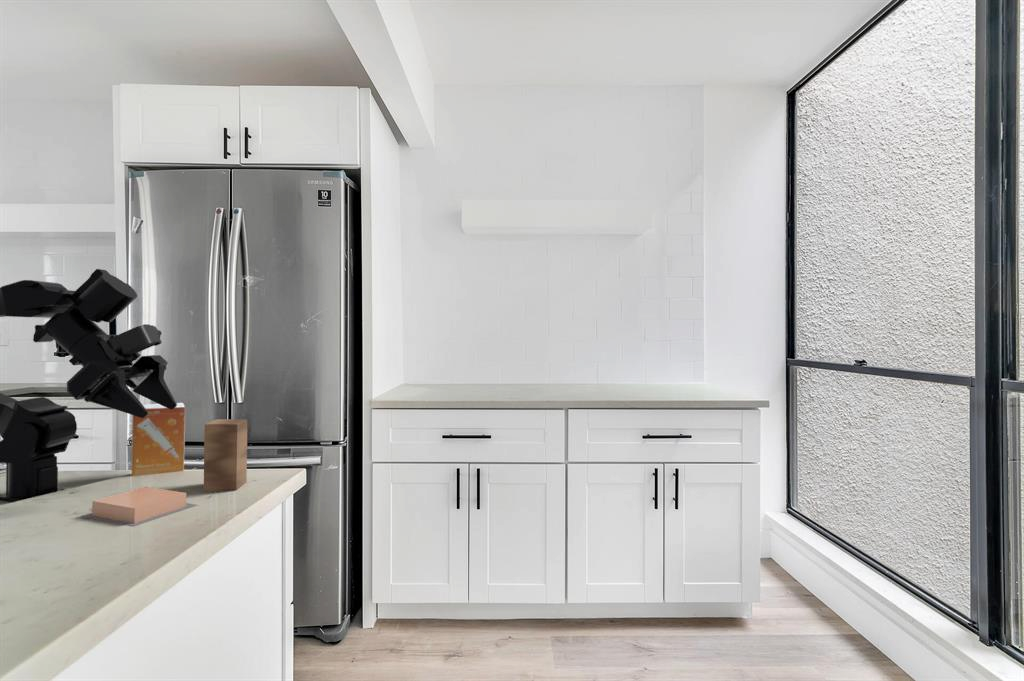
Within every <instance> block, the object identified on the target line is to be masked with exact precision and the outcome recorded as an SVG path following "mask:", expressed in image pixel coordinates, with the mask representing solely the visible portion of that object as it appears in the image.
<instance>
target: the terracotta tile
mask: <svg viewBox="0 0 1024 681" xmlns="http://www.w3.org/2000/svg"><path fill="white" fill-rule="evenodd" d="M91 503H92V504H91V509H92V510H91V513H92V515H93V516H98V517H103V518H109V519H114V520H120V521H125V522H131V523H137V522H140V521H143V520H146V519H149V518H152V517H155V516H158V515H161V514H164V513H167V512H170V511H173V510H176V509H180V508H183V507H186V503H187V492H181V491H176V490H170V489H164V488H163V489H162V488H158V487H151V486H150V487H149V486H143V487H140V488H135V489H133V490H132V489H131V490H128V491H125V492H120V493H117V494H114V495H109V496H106V497H102V498H98V499H95V500H94V499H93V500H92V501H91Z"/></svg>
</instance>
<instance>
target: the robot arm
mask: <svg viewBox="0 0 1024 681" xmlns="http://www.w3.org/2000/svg"><path fill="white" fill-rule="evenodd" d="M137 298H138V294H137V292H136V291H135V289H134V288H133V287H132V286H131V285H130V284H128V283H127V282H126V283H125V281H122V280H121V279H120V278H118V277H117V276H114V275H113V274H111V273H110V272H108V271H107V270H106V269H101V268H96V269H95V270H94V271H93V272H92V273H91V274H90V276H89V277H88V279H87V280H86V281H84V282H83V283H82V284H81V285H80V286H79V287H78V288H76V290H69V289H68V288H66V286H64V285H63V284H61V283H59V282H58V283H57V282H48V281H39V280H32V279H23V280H22V279H21V280H18V281H16V282H12V283H9V284H5V285H3V286H0V318H4V317H12V318H13V317H14V318H42V319H43V318H45V319H47V318H49V319H48V321H46V322H45V323H44V324H35V325H34V334H33V338H32V341H33V342H34V343H49V342H53V341H55V342H56V343H57V344H58V345H59V346H60V347H61V348H62V349H63V350H64V351H65V352H66V353H68V354H69V355H70V356H71V358H70V359H69V360H68V362H69V363H70V364H72V366H82V367H81V368H80V369H79V370H77V372H76V373H75V374H74V375H73V376H72V377H71V378H69V380H67V382H66V392H67V393H69V395H71V397H73V398H74V399H75V400H76V401H79V400H83V399H84V400H83V401H85V402H86V403H93V404H96V405H100V406H103V407H107V408H111V409H113V410H116V411H120V412H123V413H126V414H129V415H131V416H133V415H134V416H137V417H140V418H144V417H146V416H147V415H148V411H147V410H146V409H145V407H144V406H143V405H144V404H143V403H141V401H140V400H139V398H137V397H136V395H135V394H134V393H136V394H138V395H139V396H142V397H144V398H146V399H148V400H150V401H152V402H154V403H155V404H160V405H162V406H164V407H167V408H169V409H171V410H172V409H174V408H175V407H176V406H177V404H176V403H177V402H176V400H175V398H174V396H173V395H172V393H171V391H170V389H169V387H168V385H167V383H166V381H165V377H164V376H165V371H166V370H167V365H168V361H167V360H166V359H165V358H164V357H162V355H160V354H156V355H155V354H153V355H142V354H140V352H143V351H145V350H147V349H149V348H151V347H156V346H159V345H161V344H162V343H163V342H162V340H161V336H162V331H161V330H159V329H158V328H157V327H156V326H155V325H152V324H146V323H145V324H142V325H138V326H135V327H132V328H131V329H128V330H126V331H124V332H121V333H118V334H107V332H105V331H104V330H103V329H102V328H101V327H100V326H99V325H98V324H97V323H102V322H105V323H112V322H113V321H114V320H115V318H117V317H118V316H119V315H120V314H121V313H123V311H124V310H125V309H127V307H129V306H130V305H131V304H132V303H133V302H134V301H135V300H136V299H137ZM138 358H139V359H138ZM136 360H137V361H136ZM134 361H136V362H134ZM133 362H134V363H133ZM130 388H131V389H133V390H130ZM133 392H134V393H133ZM66 409H68V406H67V405H60V404H57V403H55V402H54V401H53V400H51V399H49V398H46V397H45V396H39V397H33V398H28V399H21V400H17V399H16V398H13V397H11V396H8V395H6V394H4V393H3V392H0V437H1V438H2V439H1V440H0V464H5V467H6V469H5V474H6V475H5V476H6V478H5V485H6V486H5V492H3V493H0V500H3V501H10V502H19V501H24V500H28V499H33V498H36V497H40V496H44V495H48V494H54V493H56V492H57V493H58V492H61V491H65V490H67V488H62V487H59V486H58V485H59V484H58V483H59V482H58V480H59V477H58V476H59V468H58V456H56V455H55V454H58V453H59V454H60V453H64V452H66V451H67V448H68V446H69V443H70V442H71V440H73V438H74V437H75V435H76V432H77V430H78V427H77V426H78V424H77V421H76V416H75V415H74V414H73V413H72V412H70V411H69V410H66Z"/></svg>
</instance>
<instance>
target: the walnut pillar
mask: <svg viewBox="0 0 1024 681" xmlns="http://www.w3.org/2000/svg"><path fill="white" fill-rule="evenodd" d="M203 435H204V438H203V439H204V440H203V441H204V442H203V446H204V447H203V450H204V452H203V492H225V491H226V492H228V491H231V492H233V491H235V492H236V491H238V490H239V489H240V488H241V487H243V486H244V485H245V484H246V483H247V478H248V477H247V476H248V475H247V472H248V470H247V467H248V466H247V465H248V419H247V418H246V419H245V418H244V419H241V418H239V419H237V418H235V419H233V418H231V419H230V418H229V419H227V418H225V419H224V418H221V419H220V418H218V419H214V420H212V421H208V422H207V423H204V434H203Z"/></svg>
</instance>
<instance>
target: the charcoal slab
mask: <svg viewBox="0 0 1024 681" xmlns="http://www.w3.org/2000/svg"><path fill="white" fill-rule="evenodd" d="M197 506H198V504H197V503H196V504H195V503H189V502H186V507H183V508H180V509H176V510H173V511H170V512H167V513H164V514H161V515H158V516H155V517H152V518H149V519H146V520H143V521H140V522H137V523H131V522H125V521H120V520H114V519H109V518H103V517H98V516H93V515H92V512H91V513H87V514H84V515H81V517H83V518H88V519H93V520H98V521H104V522H109V523H114V524H120V525H124V526H131V527H137V526H140V525H143V524H146V523H149V522H151V521H155V520H158V519H160V518H163V517H167V516H171V515H173V514H176V513H179V512H181V511H185V510H188V509H191V508H193V507H194V508H195V507H197Z"/></svg>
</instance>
